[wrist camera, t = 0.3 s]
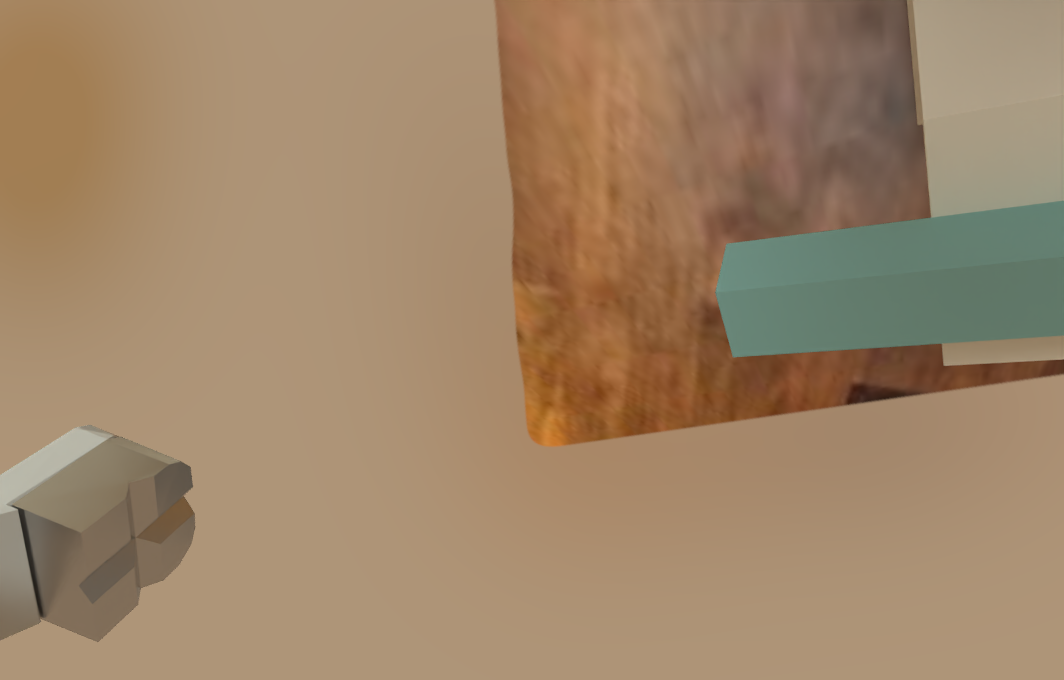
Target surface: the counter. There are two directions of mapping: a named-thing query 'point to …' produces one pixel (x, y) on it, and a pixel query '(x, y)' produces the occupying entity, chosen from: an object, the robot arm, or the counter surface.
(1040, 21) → the cream stand
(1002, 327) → the domino case
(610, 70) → the counter surface
